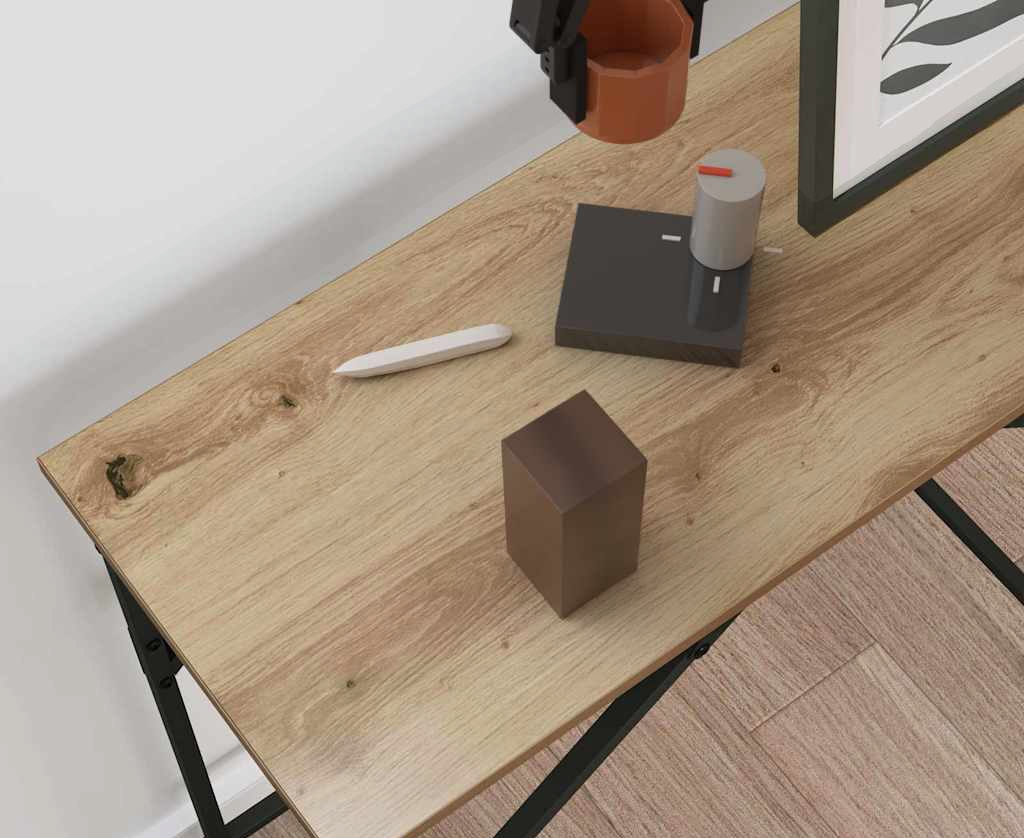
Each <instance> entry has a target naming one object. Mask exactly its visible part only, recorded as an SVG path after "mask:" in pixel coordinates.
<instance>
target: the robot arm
mask: <svg viewBox="0 0 1024 838" xmlns="http://www.w3.org/2000/svg"><path fill="white" fill-rule="evenodd" d="M590 1H591V0H512V2H511V7H510V8H511V9H510V15H509V23H508V26H509V28H510V30H511V31H512V32H513V33H514V34H515V35H516V36H517V37H518V38H519V39H520V40H521V41H522V42H523V43H524V44H525V45H526V46H528V48H529V49H530V50H531V51H532V52H533V53H534V54H536V55H539V59H540V61H539V62H540V63H539V64H540V65H539V68H540V69H541V71H542V73H544V75H546V77H548V78H549V100H550V101H552V102H553V103H554V104H555V105H556V106H557V107H558V109H559V110H561V112H562V113H563V114H564V115H565V116H566V115H567V116H568V117H569V118H570V119H571V120H572V121H573V122H574V123H575V124H576V125H577V124H578V123H580V122H582V121H584V120H585V119H586V94H587V53H588V40H587V39H586V38H585V37H584V36H583V35H582V34H581V33H580V32H579V29H580V27H581V24H582V22H583V19H584V16H585V14H586V11H587V9H588V6H589V4H590ZM680 1H681V2H682V4H683V6H684V7H685V9H686V11H687V12H688V14H689V16H690V17H691V19H692V21H693V22H694V26H693V36H692V46H691V56H690V61H691V60H693V59H694V58H696V57H698V56H699V54H700V46H701V36H702V26H703V19H704V18H703V17H704V7H705V4H706V3H707V2H709V0H680ZM567 116H566V117H567ZM568 117H567V118H568Z"/></svg>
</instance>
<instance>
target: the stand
mask: <svg viewBox="0 0 1024 838" xmlns="http://www.w3.org/2000/svg"><path fill="white" fill-rule="evenodd" d="M500 448H501V465H502V467H501V469H502V487H503V488H502V489H503V503H504V504H503V505H504V507H503V508H504V523H505V525H504V526H505V543H506V553H507V554H508V555H509V556H510V557H511V559H512V560H513V561H514V563H515V564H516V565H517V566H518V567H519V569H520V570H521V571H522V572H523V574H524V576H526V577H527V579H528V580H529V582H530V583H531V584H532V585H533V586H534V587H535V589H536V590H537V591H538V592H539V594H540V595H541V596H542V597H543V598H544V599H545V601H546V602H547V604H548V605H549V606H550V607H551V609H552V610H553V611H554V612H555V613H556V615H557V616H558V617H559V618H560V620H563V619H564V618H566V617H567V616H569V615H571V614H572V613H573V612H576V611H577V610H578V609H580V608H582V607H583V606H584V605H586V604H587V603H588V602H591V601H592V600H593V599H595V598H597V597H598V596H600V595H601V594H603V593H604V592H605V591H607V590H608V589H610V588H612V587H613V586H614V585H617V584H618V583H619V582H620V581H622V580H623V579H625V578H626V577H628V576H630V575H632V574H633V573H634V572H636V571H637V570H638V563H639V554H640V553H639V551H640V542H641V532H642V521H643V513H644V504H645V503H644V502H645V495H646V494H645V492H646V483H647V475H648V473H647V472H648V463H649V459H648V458H647V457H646V455H644V453H642V451H641V450H640V448H638V447H637V446H636V445H635V444H634V443H633V441H632V440H631V439H630V438H629V437H628V435H627V434H626V433H625V432H624V431H623V430H622V429H621V428H620V426H618V424H617V423H616V421H614V420H613V419H612V417H610V415H609V414H608V413H607V412H606V411H605V409H604V408H603V407H602V406H601V405H600V404H599V403H598V402H597V400H595V398H594V397H593V396H592V395H591V393H589V391H588V390H587V389H585V388H584V389H582V390H580V391H579V392H577V393H576V394H574V395H572V396H571V397H569V398H568V399H565V400H564V401H562V402H561V403H559V404H558V405H555V407H553V408H551V409H549V410H548V411H546V412H545V413H543V414H541V415H540V416H538V417H537V418H535V419H534V420H532V421H530V422H528V423H526V424H525V425H524V426H522V427H520V428H519V429H517V430H515V431H513V432H512V433H510V434H509V435H507V436H506V437H504V438H502V439H501V440H500Z"/></svg>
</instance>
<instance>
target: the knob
mask: <svg viewBox="0 0 1024 838" xmlns="http://www.w3.org/2000/svg"><path fill="white" fill-rule="evenodd" d="M767 177H768V176H767V170H766V168H765V166H764V164H763V162H762V161H761V160H760V158H758V157H757V156H755V155H754V154H752V153H750V152H748V151H746V150H743V149H737V148H723V149H719V150H716V151H713V152H711V153H710V154H708V155H707V156H705V157H704V158H703V160H702V161H701V162H700V164H699V165H698V168H697V174H696V180H695V181H696V182H695V189H694V199H693V207H692V215H691V216H692V224H691V232H690V241H689V245H690V250H691V252H692V254H693V256H694V257H695V258H696V259H697V260H698V261H699V262H700V263H701V264H703V265H705V266H707V267H709V268H712V269H716V270H731V269H735V268H738V267H740V266H742V265H743V264H745V263H746V262H747V261H748V260H749V259H750V258H751V256H752V255H753V252H754V253H755V249H756V243H757V237H758V232H759V231H758V230H759V226H760V220H761V214H762V208H763V203H764V196H765V191H766V185H767V179H768V178H767Z"/></svg>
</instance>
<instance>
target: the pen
mask: <svg viewBox="0 0 1024 838" xmlns="http://www.w3.org/2000/svg"><path fill="white" fill-rule="evenodd" d="M513 334H514V333H513V331H512V329H510V328H509V327H507V326H506V325H503V324H500V323H490V324H489V323H488V324H484V325H479V326H474V327H469V328H465V329H461V330H457V331H453V332H449V333H445V334H441V335H436V336H432V337H429V338H424V339H420V340H417V341H412V342H409V343H405V344H400V345H396V346H393V347H389V348H385V349H381V350H377V351H373V352H369V353H366V354H362V355H358V356H356V357H354V358H351V359H349V360H348V361H345V362H344V363H342V364H341V365H340V366H339V367H337V368H336V369H335V370H333V371H332V374H335V375H339V376H343V377H349V378H368V377H374V376H379V375H380V376H381V375H387V374H392V373H397V372H402V371H408V370H412V369H413V370H414V369H418V368H422V367H426V366H430V365H435V364H438V363H442V362H446V361H449V360H453V359H454V360H455V359H458V358H460V357H465V356H469V355H472V354H477V353H482V352H485V351H488V350H493V349H495V348H499V347H500V346H503V345H504V344H505V343H506V342H508V341H509V340H510V339H511V337H512V336H513Z"/></svg>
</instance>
